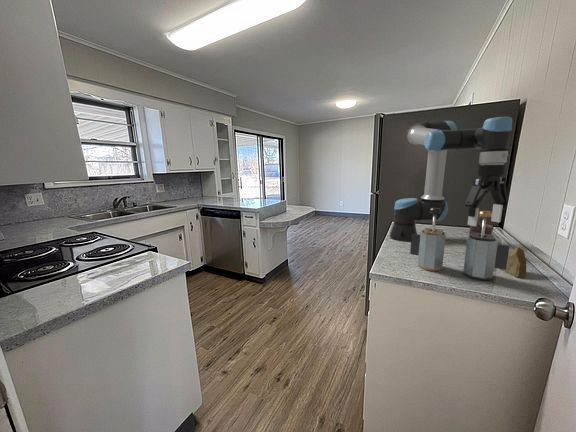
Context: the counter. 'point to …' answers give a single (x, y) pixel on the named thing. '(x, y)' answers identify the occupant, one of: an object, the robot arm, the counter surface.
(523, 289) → the counter surface
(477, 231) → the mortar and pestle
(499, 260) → the gray faceted mug
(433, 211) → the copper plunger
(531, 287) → the counter surface
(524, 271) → the rock
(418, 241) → the grey faceted cylinder
